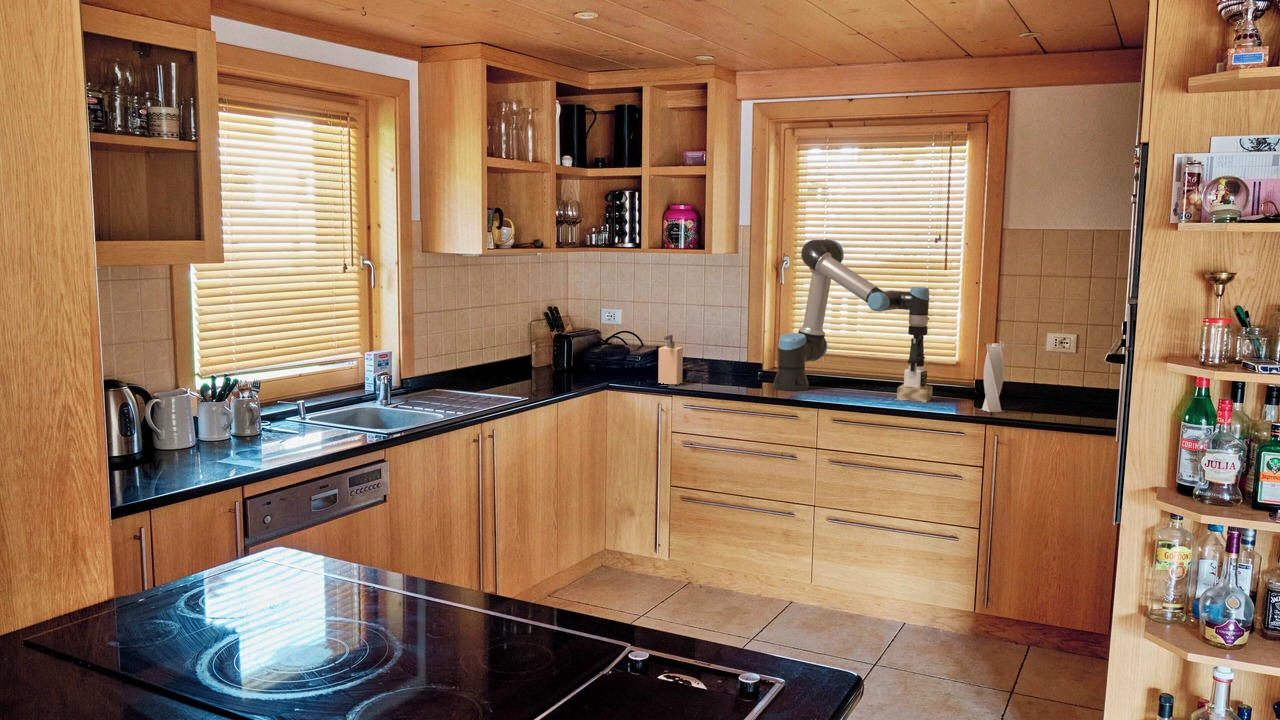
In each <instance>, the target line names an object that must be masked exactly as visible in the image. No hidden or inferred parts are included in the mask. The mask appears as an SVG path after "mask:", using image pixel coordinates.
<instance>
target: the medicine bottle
mask: <svg viewBox="0 0 1280 720" xmlns="http://www.w3.org/2000/svg"><path fill="white" fill-rule="evenodd" d="M916 363H917V370H916V379H909V367H910V363H908V368H906V369H904V373H903V374H904V375H903V377H904V378H903V379H904V380H903V384H904V387H911V388H923V387H926V386H927V382H928V369H926V368H925V359H923V358H919V357H917V361H916Z"/></svg>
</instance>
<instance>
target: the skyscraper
mask: <svg viewBox="0 0 1280 720" xmlns="http://www.w3.org/2000/svg"><path fill="white" fill-rule="evenodd" d="M1004 349H1005V342H1004V340H1000V341H999V343H997V342H995V343H993V342H992V343H986V350H987V353H986V356H985V360H984V365H983V366H984V367H983V387H984V388H983V389H984V394H985V398H984V401H983V405H982V408H979V411H981V410H983V411H982V412H984V411H987V412H1006V411H1005V410H1002V406H1001V402H1000V396H1001V395H1000V394H1001V392H1002V388H1003V383H1004V378H1005V360H1004V353H1003V351H1004ZM987 412H986V413H987Z"/></svg>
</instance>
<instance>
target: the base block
mask: <svg viewBox="0 0 1280 720" xmlns="http://www.w3.org/2000/svg"><path fill="white" fill-rule="evenodd" d="M933 388H934V387H933V386H932V385H926V387H923V388H911V387H904V383H902V384H901V385H899V386H898V387H897V388H896V401H902V400H910V401H909V402H914V401H922V402H921V403H926V402H927V401H928V402H930V401H931V398H932V399H933ZM928 402H927V403H928Z"/></svg>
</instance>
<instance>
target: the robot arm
mask: <svg viewBox="0 0 1280 720" xmlns="http://www.w3.org/2000/svg"><path fill="white" fill-rule="evenodd" d="M844 256H845V253H844V249H843V247H842V246H841V244H840V243H839V242H838V241H836V240H833V239H828V238H826V239H812V240H809V241H807V242H806V243H805V244H804V245H803V246H802V248H801V251H800V257H801V260H802V261H803V263H804V265H806V266H807V267H809V270H810V272H811V277H810V284H809V289H808V294H807V295H808V296H807V299H806V300H807V301H806V306H805V313H804V317H803V324H802V326H800V328H799V329H798V332H797V333H796V332H795V333H794V332H792V333H785V334H782V335H781V336H780V337H779V339H778V343H777V344H778V345H777V348H778V349H777V350H778V353H777V355H778V357H777V372H776V375H775V378H774V380H773V384H772V386H773V388H774V390H775V389H776V390H781V391H789V392H790V391H794V392H795V391H796V392H798V391H805V390H806V391H807V390H809V384H810V383H809V381H808V377H807V374H806V363H808V362H816V361H818V360H820V359H821V358H823V357H824V356H825V355H826V353H827V351H828V342H827V341H826V338H825V337H826V333H825V331H824V330H823V327H824V322H825V315H826V312H827V311H826V309H827V304H828V300H829V294H830V288H831V282H832V281H834V282H835V283H836V284H838V285H840V286H841V287H843V288H844V289H846V291H849V292H850V293H852V294H853V295H855V296H856V297H857V298H858V299H861V301H864V302H865V303H867V306H868V307H869V309H870V310H871V311H874V312H878V313H879V312H885V311H894V310H903V311H904V310H905V311H908V312H909V313H908V324H909V326H908V331H907V332H908V333H907V334H908V335H910V336H913V337H912V338H911V340H910V342H911V343H910V349H909V350H910V351H909V357H908V360H907V364H909V363H910V367H909V366H908V369H909V379H916V370H917V363H916V361H917V357H919V358H923V359H924V360H926V357H925V350H924V349H925V346H924V336H928V332H929V331H928V328H929V327H928V326H927V325H929V324H928V323H929V322H928V321H929V320H930V317H929V308H930V307H929V305H930V289H929V288H928V287H923V286H921V287H920V286H919V287H918V286H912V287H911V288H910V290H909V291H901V290H892V289H891V290H882V289H881V288H879V287H878V286H876V285H875V284H874V283H872V282H870V281H869V280H868V279H866V278H864V277H863V276H861V275H859V274H858V273H856V272H855V271H854V270H852V269H850V268H849V267H847V266H846V265H844V264H843V263H842V262H843V260H844Z"/></svg>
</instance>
